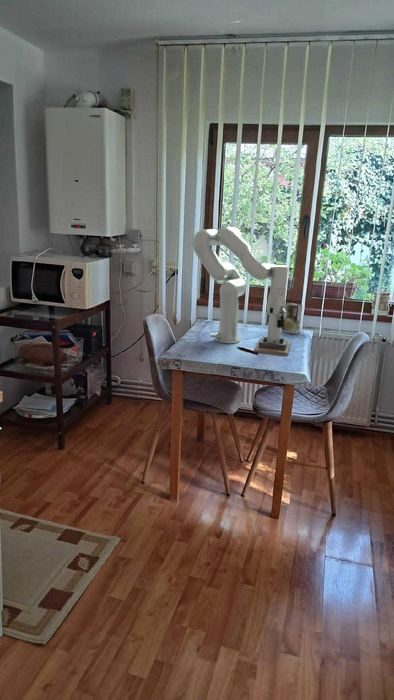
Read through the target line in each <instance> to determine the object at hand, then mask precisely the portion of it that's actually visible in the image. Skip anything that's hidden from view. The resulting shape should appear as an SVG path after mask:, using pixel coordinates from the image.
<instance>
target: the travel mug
mask: <svg viewBox="0 0 394 700" xmlns="http://www.w3.org/2000/svg"><path fill="white" fill-rule="evenodd" d="M280 317H281V315H280ZM278 320H279V319H278V315H274V314H273V308H270V311H269V321H268V323H267V333H266V337H267V342H268V343H278V344H279V341H280V338H281V331H282V328H277V322H278Z"/></svg>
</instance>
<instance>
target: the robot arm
mask: <svg viewBox="0 0 394 700" xmlns="http://www.w3.org/2000/svg"><path fill="white" fill-rule="evenodd" d="M215 246H224V247H225V248H226V249H228V251H229V252H230V253H232V255H234V257H236V258H237V260H238V261H239V263H240V265H241V266H242V267H243V269H244V271H246V272H247V273H248V274H249V275H250V276H252V278H254V279H256V280H257V281H265V280H267V279H270V289H269V294H268V297H267V304H266V307H265V308H266V315H267V316H266V324H268V321H269V311H270V308H273V314H274V315H278V319H279V320H278V322H277V328H281V329H282V328H283V324H284V320H285V317H286V314H287V312H286V310H285V304H286V293H287V281H288V273H289V272H288V270H289V268H288V266H287V265H283V264H272V263H268V262H265V263H262V262H260V261H259V260H258V259H257V258H255V256H254V255H253V254H252V251H251V250H252V249H251V248H252V247H251V245H250V244H249V243H248V242H246V240H244V238H242V233H241V231H240V230H239V229H238V228H236V227H224V228H204V229H200V230H199V231H197V232H196V233H195V235H194V237H193V241H192V248H193V251H194V253H195V254H196V256H197V258H198V260H200V262H201V263H202V265H203V266H204V267H203V268H205V269H206V271H207V272H208V274H209V275H210V277H211V279H213V281H215V282H222V284H221V285H220V287H219V298H220V299H219V301H220V303H219V304H220V305H219V324H218V331H216V332H215V333H210V334H209V337H210V338H214V339H215V341H216V342H218V343H222V344H237V343H239V342H240V341H241V340H240V338H239V337H238V326H239V325H238V323H239V309H240V308H239V307H240V305H239V297H241V296H243V295H244V294H245V293H246V291H247V285H246V282H245V281H244V279H243V277H242V276H241V275H240V273H239V272H238V270H237V269H236V268H235V266H234V265H233V264H232V263H230V262H229V261H223V260H221V259H220V258H219V256H218V255H217V253H216V252H215V251H214V250H213V249H212V248H211V247H215ZM280 315H281V317H280Z"/></svg>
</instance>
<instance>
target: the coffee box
mask: <svg viewBox="0 0 394 700" xmlns="http://www.w3.org/2000/svg"><path fill="white" fill-rule="evenodd" d="M285 310H286V312H287V314H286V317H285V320H284V324H283V328H281V330H280V333H281V332H282V333H288V334H294V335H297V334H299V333H300V331H301V321H302V311H303V304H301V303H292V302H285Z"/></svg>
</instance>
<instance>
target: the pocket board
mask: <svg viewBox="0 0 394 700" xmlns="http://www.w3.org/2000/svg"><path fill="white" fill-rule="evenodd" d="M290 347H291V341H289V340H288V338H285V337H284V338H282V337H280V341H279V344H278V343H268V342H267V336H265V335H264V336H263V335H262V336H261V337H260V338H259V340H258V341H257V343H256V345H255V347H254V349H253V352H254V353H256V352H257V353H258V354H268V355H276V356H277V355H278V356H285V357H287V356H288V355H289V351H290Z"/></svg>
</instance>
